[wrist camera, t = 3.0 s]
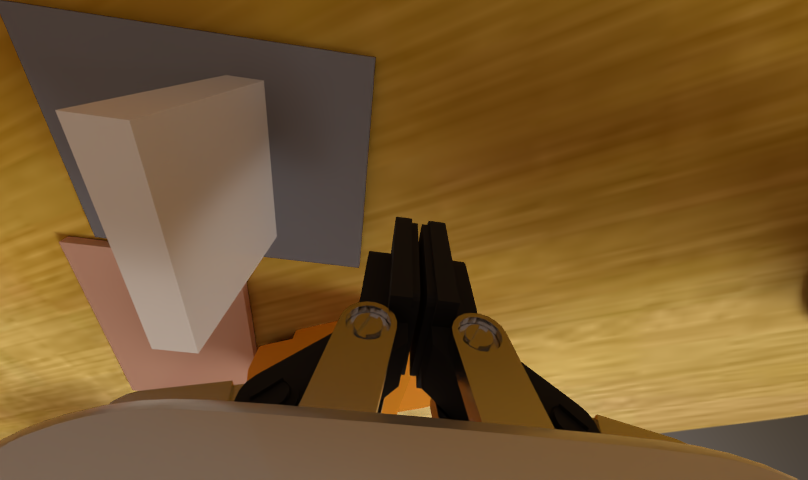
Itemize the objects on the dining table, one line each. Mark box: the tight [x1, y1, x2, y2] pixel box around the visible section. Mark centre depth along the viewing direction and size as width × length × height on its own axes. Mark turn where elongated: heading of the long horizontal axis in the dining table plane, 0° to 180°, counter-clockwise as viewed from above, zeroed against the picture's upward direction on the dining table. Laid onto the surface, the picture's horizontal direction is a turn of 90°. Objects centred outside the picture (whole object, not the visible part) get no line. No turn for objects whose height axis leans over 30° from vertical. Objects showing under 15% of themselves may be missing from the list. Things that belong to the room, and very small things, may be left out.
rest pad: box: [59, 236, 257, 391], centre depth 23 cm, size 10×14×1 cm
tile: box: [55, 75, 277, 354], centre depth 13 cm, size 2×8×8 cm, turn 172°
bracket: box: [247, 321, 431, 415], centre depth 19 cm, size 11×7×12 cm, turn 108°
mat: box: [0, 0, 376, 268], centre depth 16 cm, size 15×11×1 cm
